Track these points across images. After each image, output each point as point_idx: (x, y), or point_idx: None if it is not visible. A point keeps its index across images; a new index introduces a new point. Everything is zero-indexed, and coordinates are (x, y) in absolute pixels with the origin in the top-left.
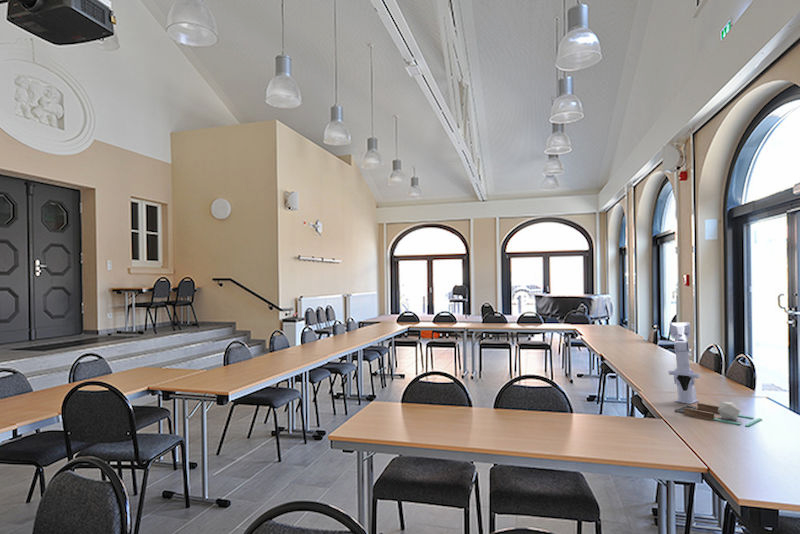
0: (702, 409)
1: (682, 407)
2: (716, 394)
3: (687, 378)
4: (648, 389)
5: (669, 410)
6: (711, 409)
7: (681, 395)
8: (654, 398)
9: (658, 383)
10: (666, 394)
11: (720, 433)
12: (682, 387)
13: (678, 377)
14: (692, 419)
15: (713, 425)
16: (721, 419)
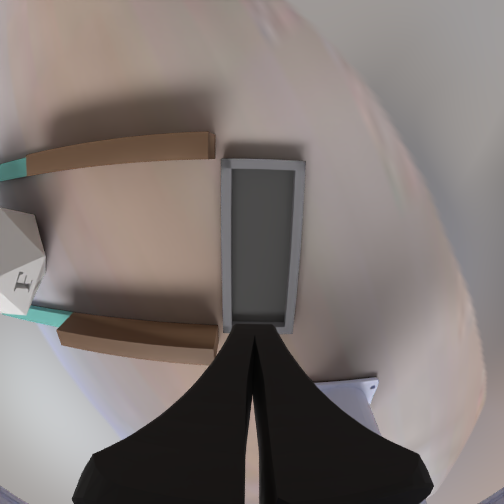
0: (187, 325)
1: (289, 264)
2: None
3: (78, 492)
4: (471, 424)
5: (344, 165)
6: (132, 326)
7: (352, 414)
8: (462, 354)
9: (440, 472)
10: (421, 428)
11: (4, 13)
12: (275, 343)
13: (383, 500)
14: (128, 64)
15: (28, 68)
16: (22, 176)
